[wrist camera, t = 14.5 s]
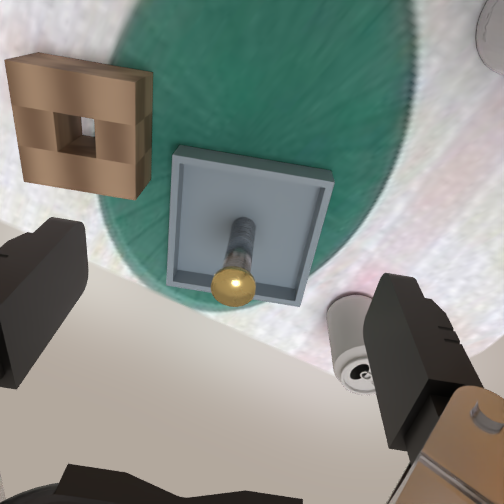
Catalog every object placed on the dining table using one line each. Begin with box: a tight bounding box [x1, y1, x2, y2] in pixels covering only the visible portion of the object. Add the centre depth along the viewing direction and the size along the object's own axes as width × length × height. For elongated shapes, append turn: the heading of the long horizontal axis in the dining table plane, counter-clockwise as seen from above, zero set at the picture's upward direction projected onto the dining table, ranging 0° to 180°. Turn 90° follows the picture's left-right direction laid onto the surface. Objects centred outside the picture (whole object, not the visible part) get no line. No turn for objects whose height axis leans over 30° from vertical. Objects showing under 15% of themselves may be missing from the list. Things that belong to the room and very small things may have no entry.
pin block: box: [4, 52, 153, 200], centre depth 43 cm, size 12×12×6 cm
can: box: [327, 295, 376, 395], centre depth 52 cm, size 8×8×12 cm
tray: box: [166, 145, 335, 307], centre depth 50 cm, size 18×18×4 cm
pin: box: [211, 217, 256, 307], centre depth 45 cm, size 4×4×13 cm
